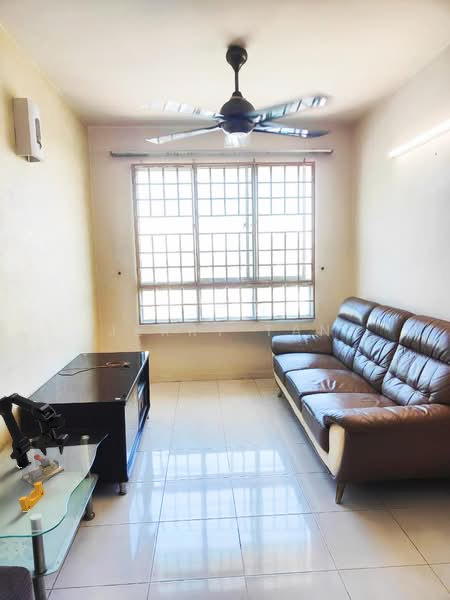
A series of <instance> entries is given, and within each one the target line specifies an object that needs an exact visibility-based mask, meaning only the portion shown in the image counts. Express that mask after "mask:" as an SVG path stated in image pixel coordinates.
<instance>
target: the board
mask: <svg viewBox="0 0 450 600" xmlns="http://www.w3.org/2000/svg"><path fill="white" fill-rule="evenodd" d="M49 461H50V462H53V460H50V459H49ZM38 469H39V466H37V467H35V468H33V469H32V470H30V471H28V472H26V473H24V474H22V475H21V478H22V479H23V480H25V481H26V482H28V483H29V484H30V485H31V486H33V487H34V485H35V484H36V483H37V482H42V484H43V483H44V482H46V481H48V480H50V479H51V478H53V477H54V476H56V475H58V474H60V473H62V472H64V471H65V468H64V467H62V466H61V465H59V468H56V469H55V471H54V472H52V473H50V474H48V475H47V476H42V477H40V478H39V479H37V480H35V481H34V482H31V481H30V480H29V476H28V473H33V472H35V471H36V470H38Z"/></svg>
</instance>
